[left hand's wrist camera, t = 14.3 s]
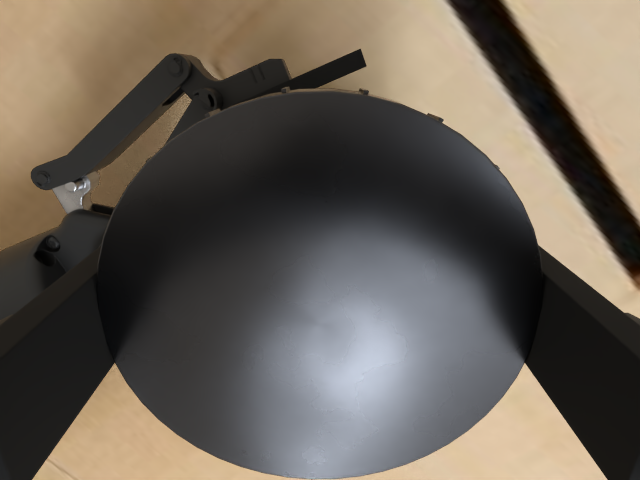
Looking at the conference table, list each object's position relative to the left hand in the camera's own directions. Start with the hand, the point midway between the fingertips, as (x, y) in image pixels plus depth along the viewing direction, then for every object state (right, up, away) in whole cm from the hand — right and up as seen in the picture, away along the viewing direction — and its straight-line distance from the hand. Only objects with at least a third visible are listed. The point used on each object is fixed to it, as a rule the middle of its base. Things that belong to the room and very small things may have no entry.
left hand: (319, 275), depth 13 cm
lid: (0, -1, -2) cm, 2 cm away
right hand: (+4, +5, +8) cm, 10 cm away
